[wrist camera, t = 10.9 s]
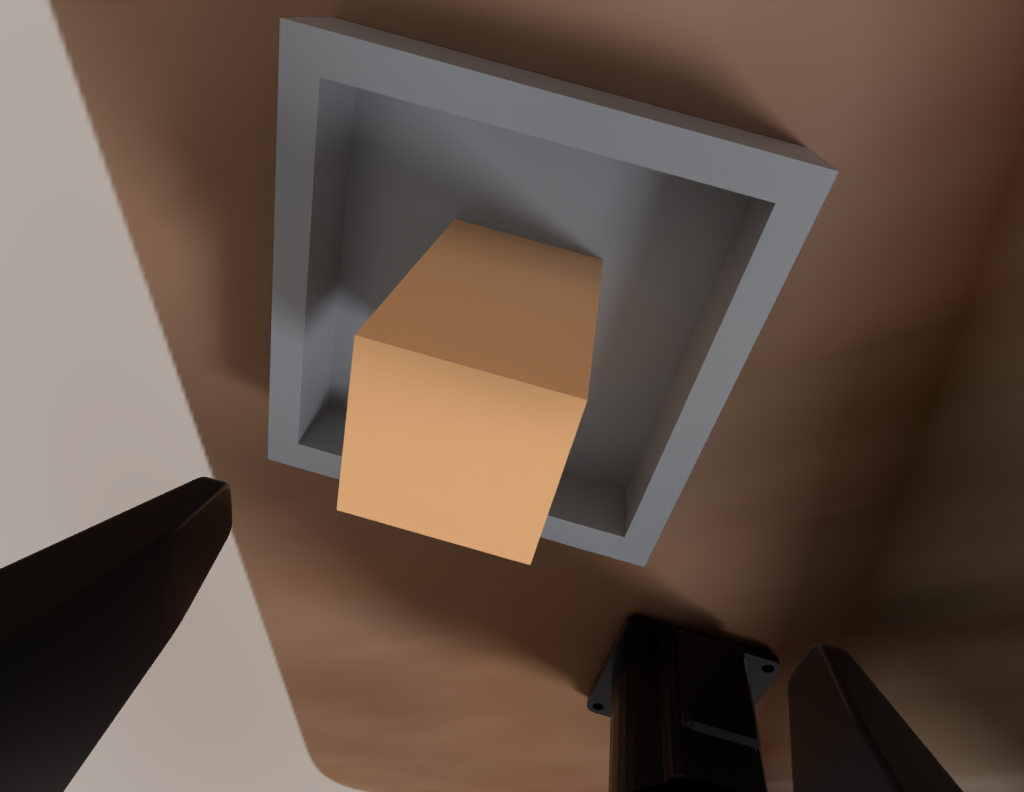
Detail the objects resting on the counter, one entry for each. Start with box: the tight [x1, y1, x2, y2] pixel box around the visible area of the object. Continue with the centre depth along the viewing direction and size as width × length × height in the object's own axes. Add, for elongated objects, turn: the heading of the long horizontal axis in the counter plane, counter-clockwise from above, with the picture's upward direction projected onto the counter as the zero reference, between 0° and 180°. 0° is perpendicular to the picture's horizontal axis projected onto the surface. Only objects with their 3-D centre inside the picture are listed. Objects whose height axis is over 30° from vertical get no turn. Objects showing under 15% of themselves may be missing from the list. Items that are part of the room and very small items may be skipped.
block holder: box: [268, 17, 839, 567], centre depth 19 cm, size 13×13×3 cm
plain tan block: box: [337, 219, 603, 565], centre depth 16 cm, size 4×4×8 cm
